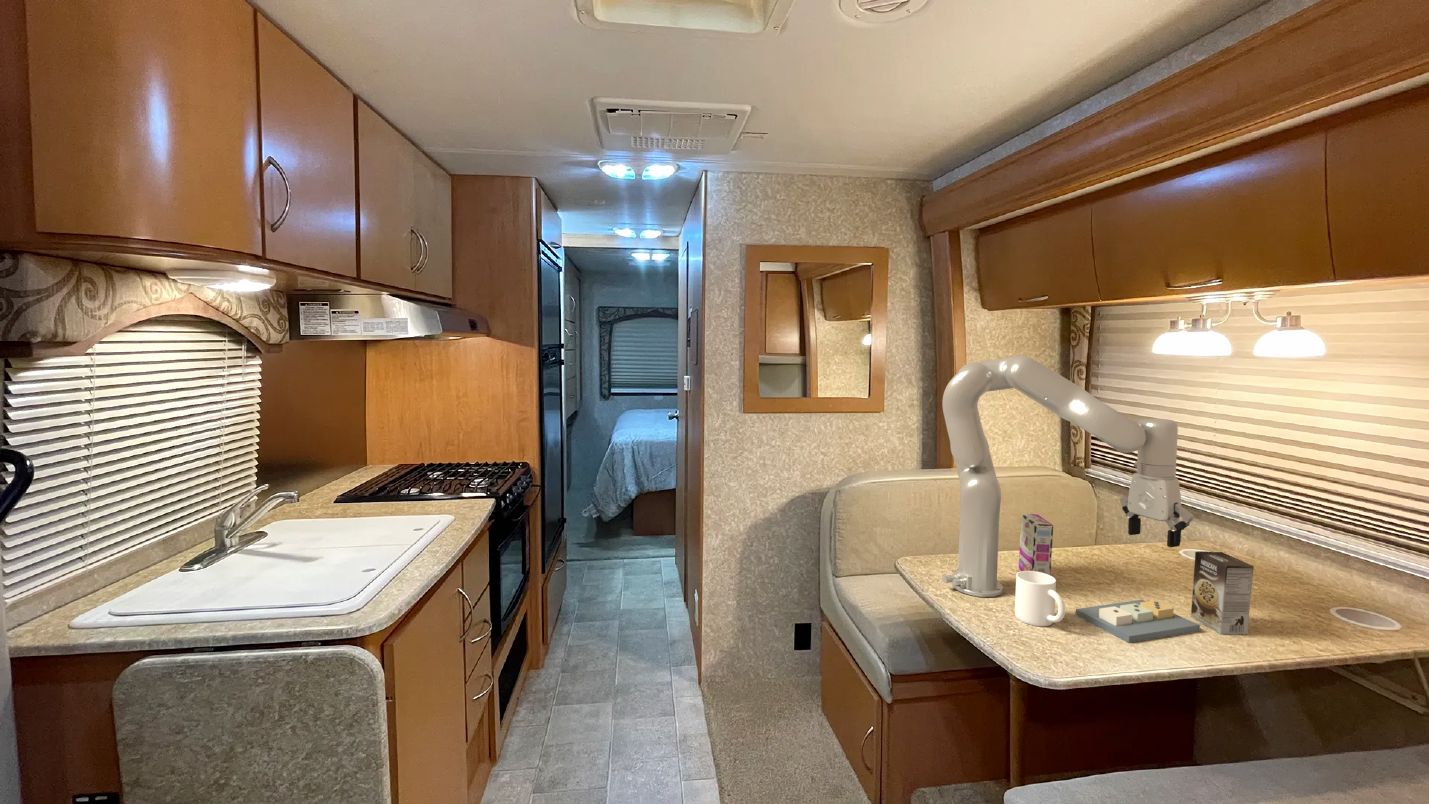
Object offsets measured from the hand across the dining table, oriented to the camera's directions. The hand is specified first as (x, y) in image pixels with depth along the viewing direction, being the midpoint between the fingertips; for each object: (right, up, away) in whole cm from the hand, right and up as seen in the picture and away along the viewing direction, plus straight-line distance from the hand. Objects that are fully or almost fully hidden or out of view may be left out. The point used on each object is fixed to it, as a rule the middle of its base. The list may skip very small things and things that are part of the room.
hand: (1153, 540), depth 145 cm
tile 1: (-14, -17, -7) cm, 23 cm away
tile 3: (-2, -17, -4) cm, 17 cm away
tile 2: (-8, -17, -5) cm, 19 cm away
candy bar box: (-16, -16, +24) cm, 33 cm away
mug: (-30, -19, -4) cm, 35 cm away
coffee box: (+10, -18, -7) cm, 22 cm away
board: (-8, -18, -5) cm, 20 cm away
